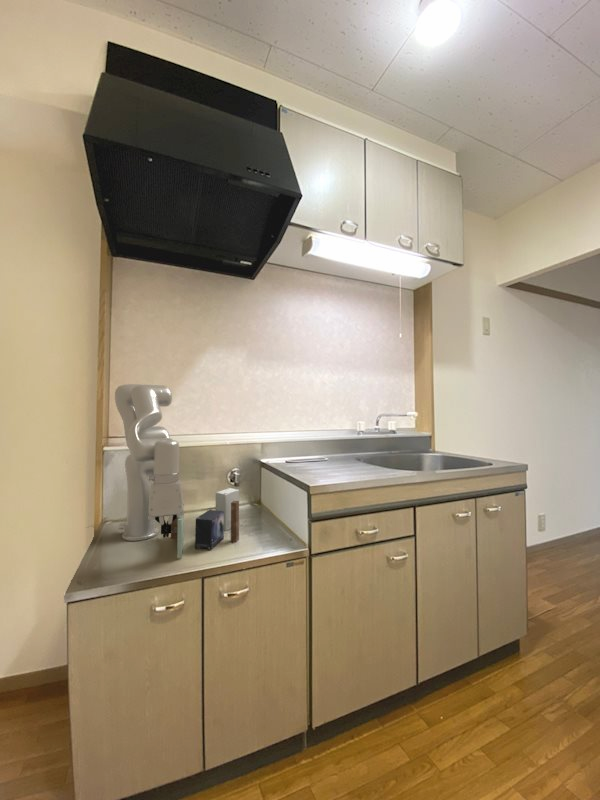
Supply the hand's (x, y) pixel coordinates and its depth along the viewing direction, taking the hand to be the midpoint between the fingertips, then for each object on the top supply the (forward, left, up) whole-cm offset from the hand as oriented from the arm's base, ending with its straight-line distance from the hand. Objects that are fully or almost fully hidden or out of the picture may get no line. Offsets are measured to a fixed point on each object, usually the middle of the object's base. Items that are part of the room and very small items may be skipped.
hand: (166, 535), depth 106 cm
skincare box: (+10, +29, -7) cm, 32 cm away
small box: (+10, +13, -7) cm, 18 cm away
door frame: (+6, +16, -7) cm, 19 cm away
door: (0, +8, -7) cm, 10 cm away
